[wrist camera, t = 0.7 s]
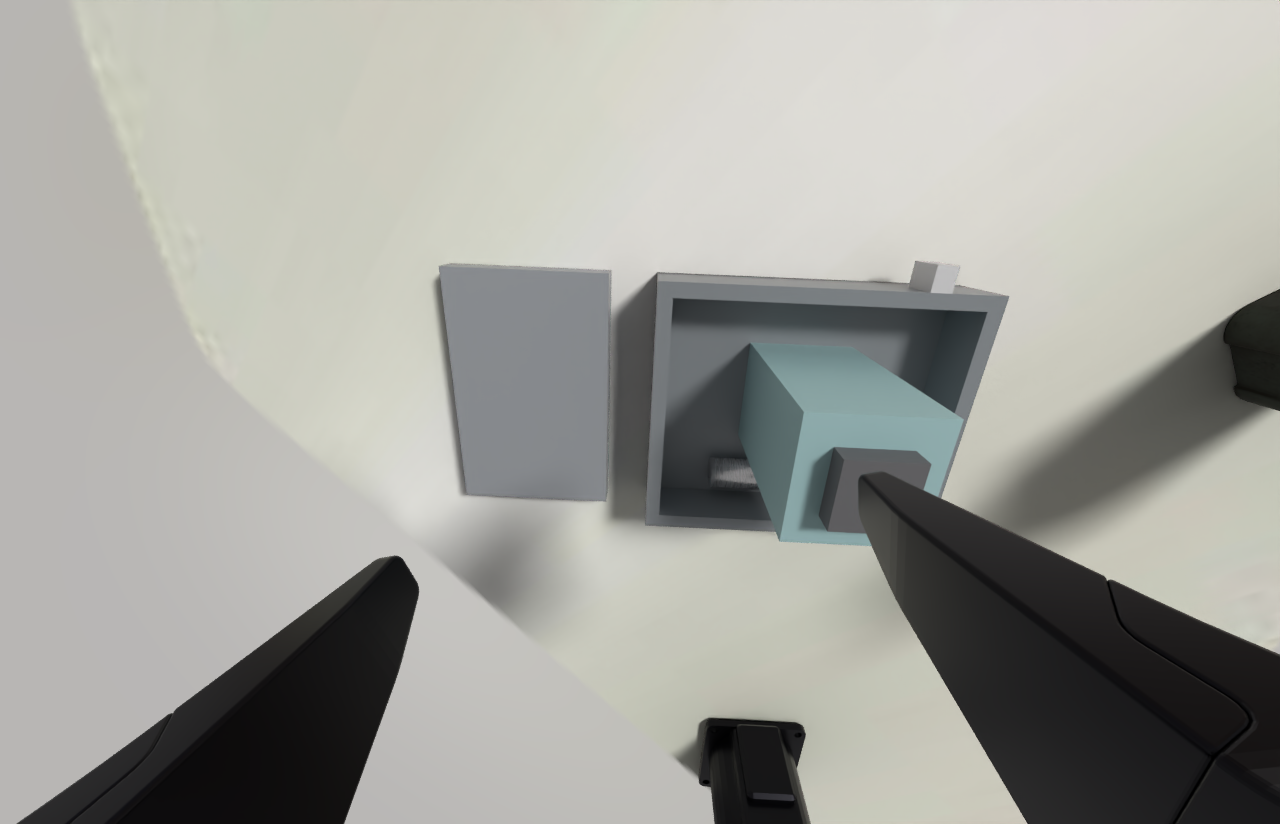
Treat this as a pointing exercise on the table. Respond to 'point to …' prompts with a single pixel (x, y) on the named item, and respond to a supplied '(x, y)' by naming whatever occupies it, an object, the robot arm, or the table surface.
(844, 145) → the table surface
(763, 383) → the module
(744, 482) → the rod
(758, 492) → the case
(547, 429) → the lid panel
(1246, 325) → the black grey pointed bar
